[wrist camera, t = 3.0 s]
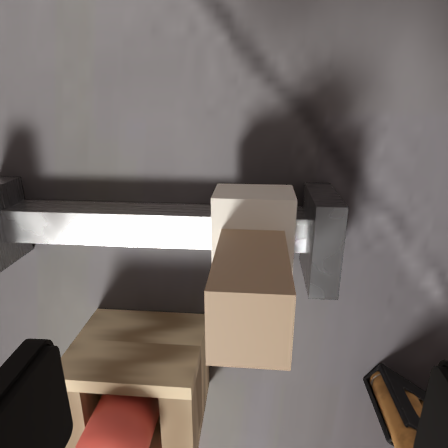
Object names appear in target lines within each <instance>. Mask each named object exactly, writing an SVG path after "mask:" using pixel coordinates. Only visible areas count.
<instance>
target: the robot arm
mask: <svg viewBox="0 0 448 448" xmlns="http://www.w3.org/2000/svg"><path fill="white" fill-rule="evenodd" d="M72 430H73V420H72V414H71V409H70V404H69V399H68V393H67V388H66V383H65V378H64V372H63V367H62V362H61V357H60V351H59V348H58V347H57V346H54V345H53V342H52V341H51V340H47V339H26V340H25V341H23V342H22V344H21V345H20V346H19V347H18V348H17V349H16V350H15V351H14V352H13V354H12V355H11V356H10V357H9V358H8V359H7V360H6V361H5V362H4V364H3V365H2V366H1V367H0V448H65V447H66V445H67V443H68V441H69V439H70V437H71V434H72ZM413 448H448V360H443V361H441V362H440V363H439V366H434V367H433V368H432V370H431V374H430V378H429V382H428V386H427V391H426V395H425V399H424V403H423V407H422V411H421V416H420V420H419V424H418V428H417V432H416V436H415V440H414V445H413Z"/></svg>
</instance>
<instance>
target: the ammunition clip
mask: <svg viewBox="0 0 448 448" xmlns="http://www.w3.org/2000/svg"><path fill="white" fill-rule="evenodd" d="M363 381H364V383H365V386H366V388H367V391H368V394H369V396H370V399H371V401H372V404H373V407H374V409H375V412H376V414H377V417H378V420H379V422H380V425H381V427H382V430H383V433H384V435H385V438H386V440H387V442H388V443H389V444H391V445H393V446H394V447H395V448H413V445H414V440H415V436H416V432H417V428H418V424H419V420H420V416H421V411H422V407H423V403H424V399H425V395H426V392H424V391H423V390H421V389H420V388H418V387H417V386H415V385H414V384H412V383H411V382H409V381H408V380H406V379H404V378H403V377H401V376H400V375H398V374H397V373H395V372H394V371H392V370H391V369H389V368H388V367H386V366H384V365H383V364H379V365H378V366H377V367H376V368H375V369H374V370H373V371H371V372H370V373H369V374H368V375H367V376H366V377H365V378H364V379H363Z"/></svg>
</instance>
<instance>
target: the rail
mask: <svg viewBox="0 0 448 448" xmlns="http://www.w3.org/2000/svg"><path fill="white" fill-rule="evenodd" d="M348 209H349V208H348V206H347V205H346V204H345V202H344V201H343V200H342V198H341V197H340V196H339V194H338V193H337V192H336V190H335V189H334V188H333V186H332V185H331V184H330V183H305V188H304V201H303V207H297V214H296V229H295V244H294V253H300V256H299V259H300V264H301V268H302V272H303V276H304V281H305V285H306V289H307V294H308V298H309V299H326V300H338V296H339V287H340V279H341V270H342V261H343V253H344V244H345V235H346V226H347V218H348ZM33 243H38V244H66V245H94V246H122V247H151V248H179V249H207V250H211V204H174V203H135V202H96V201H57V200H25V199H24V193H23V188H22V182H21V177H0V272H1V271H3V270H4V269H6V268H7V267H9V266H10V265H11V264H13V263H14V262H16V261H17V260H19V259H20V258H21V257H23V256H24V255H26V254H27V253H28V252H30V251H31V250H33V249H34V248H33Z"/></svg>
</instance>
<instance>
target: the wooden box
mask: <svg viewBox="0 0 448 448" xmlns="http://www.w3.org/2000/svg"><path fill="white" fill-rule="evenodd" d="M61 362H62V367H63V372H64V378H65V383H66V388H67V393H68V399H69V404H70V409H71V414H72V420H73V430H72V434H71V437H70V439H69V441H68V443H67V445H66V447H65V448H75V447H76V444H77V442H78V441H79V439H80V437H81V435H82V433H83V431H84V429H85V427H86V425H87V423H88V421H89V419H90V417H91V415H92V413H93V412H94V410H95V408H96V406H97V404H98V402H99V400H100V398H101V396H102V394H110V395H124V396H138V397H153V398H158V400H159V413H160V414H159V417H158V420H157V424H156V427H155V430H154V433H153V437H152V440H151V443H150V446H149V448H198V445H199V440H200V434H201V428H202V422H203V416H204V411H205V405H206V399H207V393H208V387H209V366H206V354H205V314H195V313H175V312H155V311H135V310H115V309H97V310H96V311H95V313H94V314H93V315H92V317H91V318H90V319H89V321H88V322H87V323H86V325H85V326H84V327H83V329H82V330H81V331H80V333H79V334H78V335H77V337H76V338H75V339H74V341H73V342H72V343H71V345H70V346H69V348H68V349H67V350H66V352H65V353H64V354H63V356H62V357H61Z"/></svg>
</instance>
